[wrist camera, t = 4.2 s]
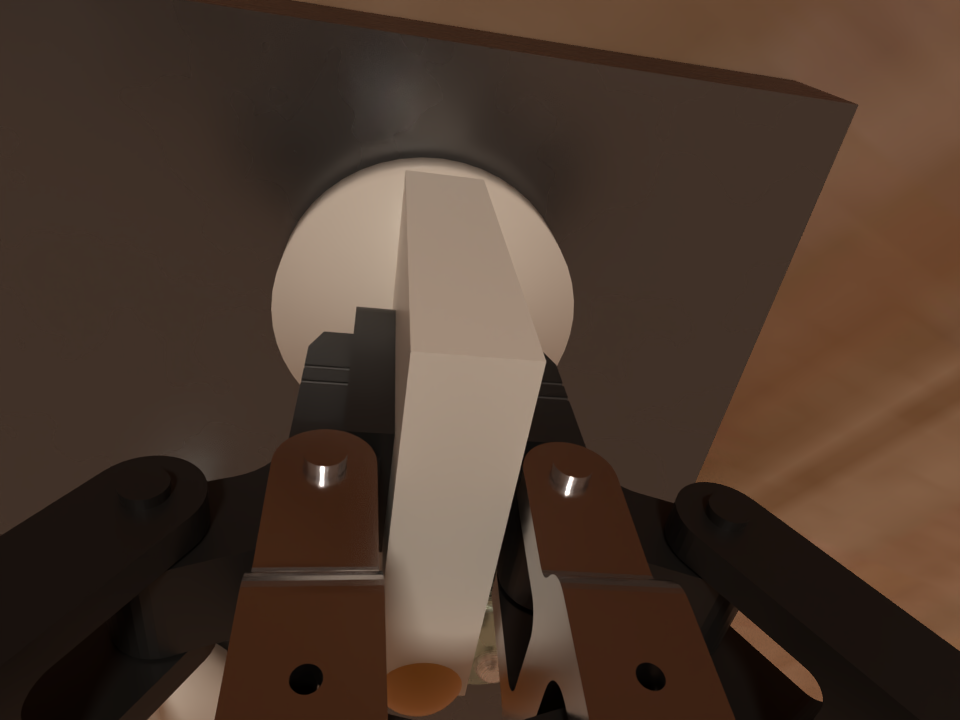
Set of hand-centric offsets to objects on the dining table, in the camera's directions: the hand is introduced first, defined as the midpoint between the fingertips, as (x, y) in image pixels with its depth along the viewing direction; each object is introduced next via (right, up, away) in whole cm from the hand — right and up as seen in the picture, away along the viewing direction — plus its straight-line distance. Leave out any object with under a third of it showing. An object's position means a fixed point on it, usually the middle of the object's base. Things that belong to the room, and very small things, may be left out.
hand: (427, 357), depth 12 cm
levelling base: (-4, -3, +7) cm, 9 cm away
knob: (0, +1, +2) cm, 2 cm away
